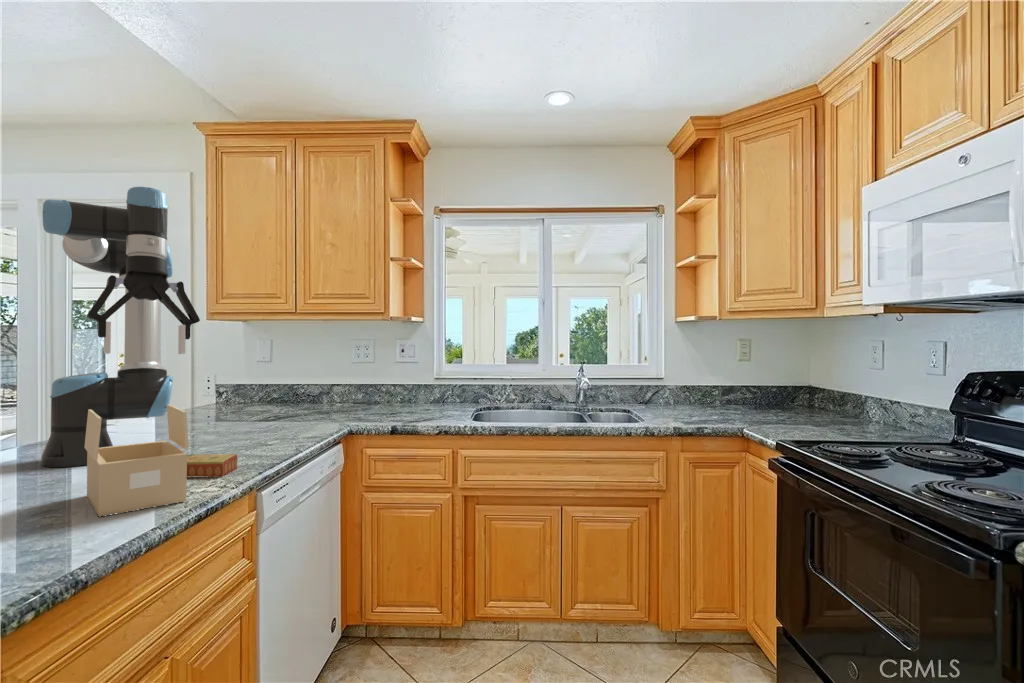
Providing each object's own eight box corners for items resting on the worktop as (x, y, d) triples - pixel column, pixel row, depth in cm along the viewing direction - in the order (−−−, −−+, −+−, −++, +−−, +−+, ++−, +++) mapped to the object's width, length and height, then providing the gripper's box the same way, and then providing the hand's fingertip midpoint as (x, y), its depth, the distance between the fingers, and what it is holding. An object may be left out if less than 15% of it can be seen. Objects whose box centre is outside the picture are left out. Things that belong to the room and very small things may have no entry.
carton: (223, 478, 128) (223, 461, 128) (153, 479, 127) (153, 461, 127) (237, 469, 137) (237, 453, 137) (172, 470, 135) (172, 453, 135)
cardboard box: (86, 495, 112) (87, 448, 112) (166, 483, 122) (166, 440, 122) (98, 517, 99) (99, 464, 99) (186, 501, 109) (187, 454, 109)
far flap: (166, 404, 120) (169, 404, 121) (169, 438, 121) (171, 438, 121) (183, 412, 110) (186, 411, 110) (186, 449, 110) (188, 449, 111)
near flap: (87, 447, 111) (84, 447, 110) (91, 409, 111) (88, 409, 110) (97, 460, 100) (94, 460, 100) (101, 418, 100) (98, 418, 100)
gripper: (76, 245, 105) (74, 351, 103) (214, 262, 123) (214, 352, 121) (71, 253, 110) (69, 354, 108) (204, 268, 128) (204, 355, 126)
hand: (146, 353), depth 115 cm, fingers open, 13 cm apart
